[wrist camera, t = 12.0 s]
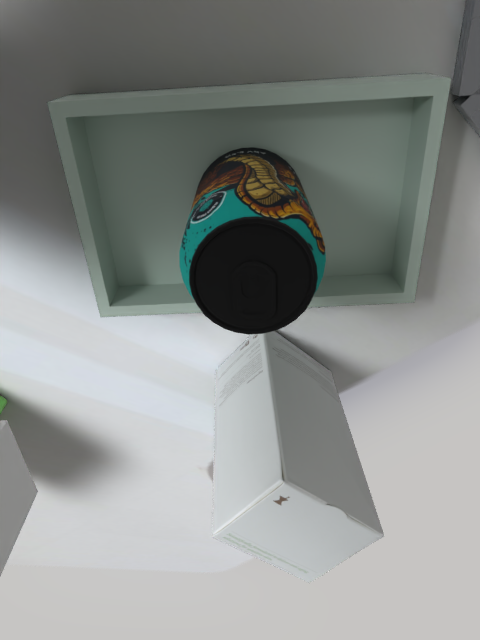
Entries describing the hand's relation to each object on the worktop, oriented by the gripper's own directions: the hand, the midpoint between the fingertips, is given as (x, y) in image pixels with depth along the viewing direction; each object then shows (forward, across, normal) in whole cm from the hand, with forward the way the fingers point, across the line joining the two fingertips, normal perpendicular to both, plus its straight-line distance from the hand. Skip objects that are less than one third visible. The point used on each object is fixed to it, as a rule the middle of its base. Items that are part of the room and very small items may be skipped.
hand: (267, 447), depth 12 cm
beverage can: (+22, 0, 0) cm, 22 cm away
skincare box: (+23, +2, -15) cm, 27 cm away
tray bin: (+23, 0, 0) cm, 23 cm away
